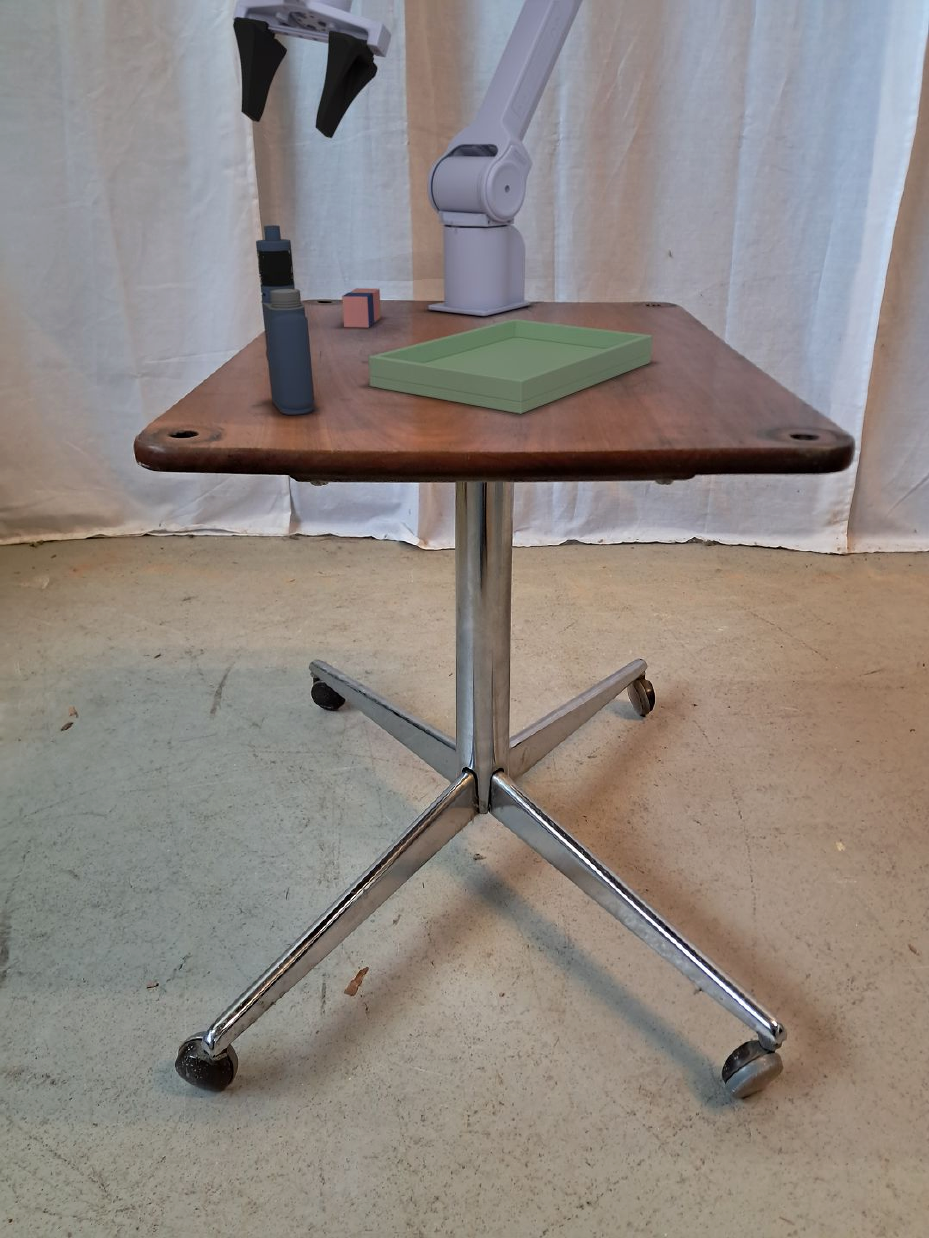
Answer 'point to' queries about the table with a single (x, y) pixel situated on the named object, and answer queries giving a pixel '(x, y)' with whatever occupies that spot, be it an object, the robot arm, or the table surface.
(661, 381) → the table surface
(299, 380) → the vaping device
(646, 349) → the tray
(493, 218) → the robot arm
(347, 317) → the eraser
